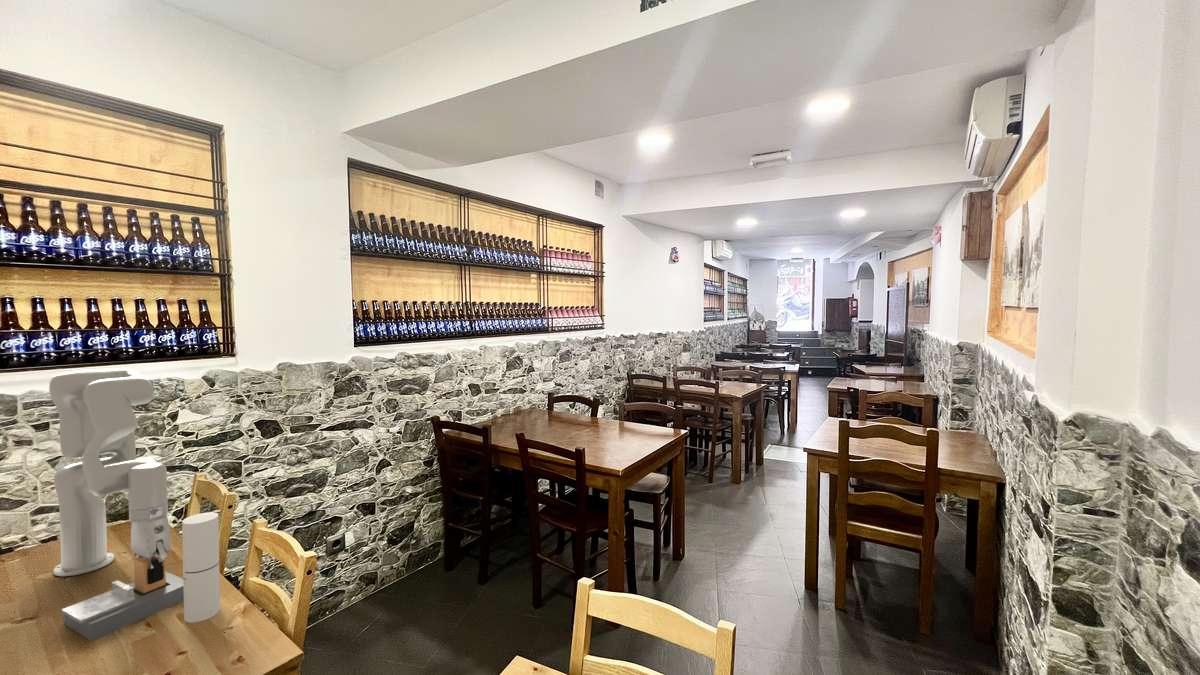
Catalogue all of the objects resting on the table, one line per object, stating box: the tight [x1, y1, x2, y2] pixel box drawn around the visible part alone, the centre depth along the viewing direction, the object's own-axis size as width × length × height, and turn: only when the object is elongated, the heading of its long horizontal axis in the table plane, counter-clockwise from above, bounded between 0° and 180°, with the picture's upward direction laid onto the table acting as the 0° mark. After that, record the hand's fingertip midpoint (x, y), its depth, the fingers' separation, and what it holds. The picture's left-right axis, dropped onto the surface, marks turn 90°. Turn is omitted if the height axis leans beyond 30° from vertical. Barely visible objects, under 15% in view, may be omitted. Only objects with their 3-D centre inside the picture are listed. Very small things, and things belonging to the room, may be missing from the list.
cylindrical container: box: [181, 511, 221, 624], centre depth 125 cm, size 7×7×25 cm
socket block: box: [63, 570, 184, 642], centre depth 126 cm, size 14×20×4 cm
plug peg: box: [133, 552, 166, 593], centre depth 129 cm, size 5×5×8 cm
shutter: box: [61, 580, 136, 624], centre depth 121 cm, size 10×10×3 cm
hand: (150, 578), depth 130 cm, fingers closed on plug peg, 4 cm apart
